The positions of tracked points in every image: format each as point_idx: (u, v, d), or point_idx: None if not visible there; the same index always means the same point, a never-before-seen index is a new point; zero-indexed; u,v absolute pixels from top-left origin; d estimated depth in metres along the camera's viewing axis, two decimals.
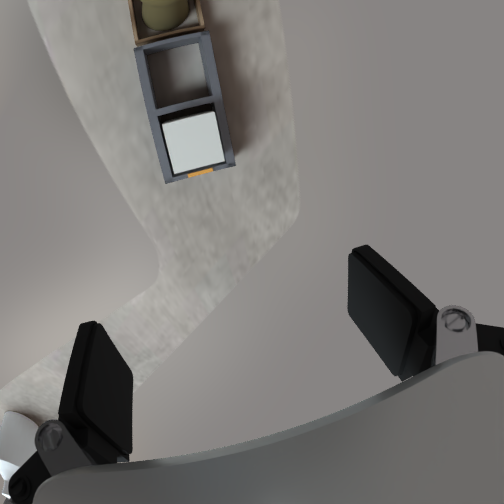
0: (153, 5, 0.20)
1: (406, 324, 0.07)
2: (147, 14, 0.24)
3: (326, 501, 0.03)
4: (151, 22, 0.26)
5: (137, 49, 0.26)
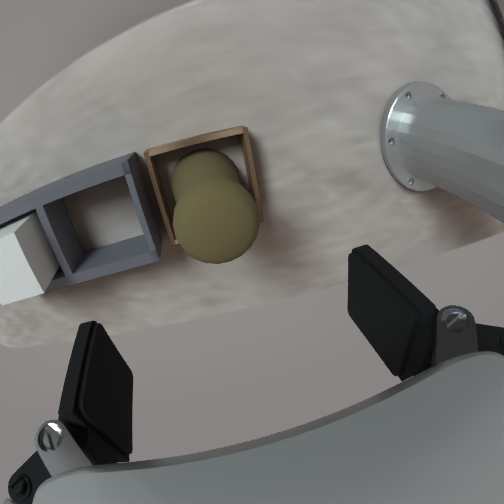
0: None
1: (406, 324, 0.07)
2: (185, 173, 0.21)
3: (326, 501, 0.03)
4: (177, 173, 0.23)
5: (125, 166, 0.20)
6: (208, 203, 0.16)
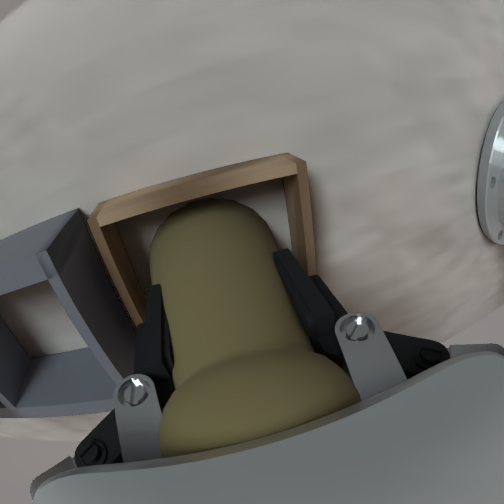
0: None
1: (306, 328, 0.08)
2: (175, 277, 0.09)
3: (326, 501, 0.03)
4: (159, 261, 0.11)
5: (44, 263, 0.08)
6: None
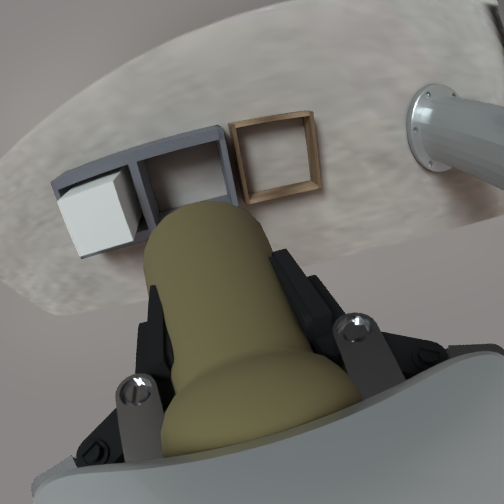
0: None
1: (304, 329, 0.08)
2: (170, 281, 0.09)
3: (326, 501, 0.03)
4: (154, 265, 0.11)
5: (220, 132, 0.25)
6: None
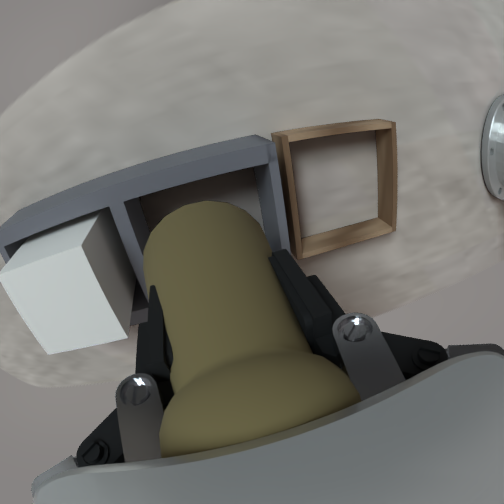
0: None
1: (304, 329, 0.08)
2: (169, 281, 0.09)
3: (326, 501, 0.03)
4: (153, 265, 0.11)
5: (270, 151, 0.15)
6: None
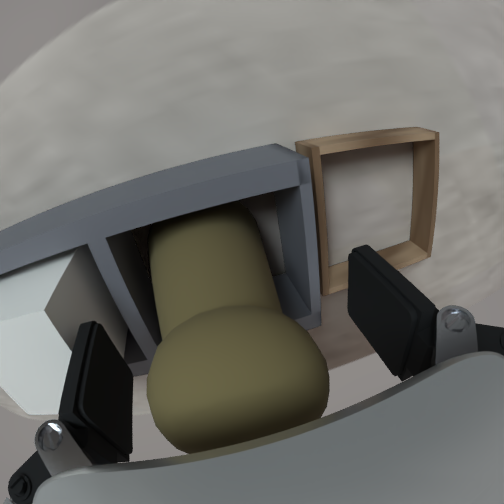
0: None
1: (406, 324, 0.07)
2: (164, 259, 0.11)
3: (326, 501, 0.03)
4: (153, 249, 0.13)
5: (302, 169, 0.11)
6: (221, 407, 0.06)
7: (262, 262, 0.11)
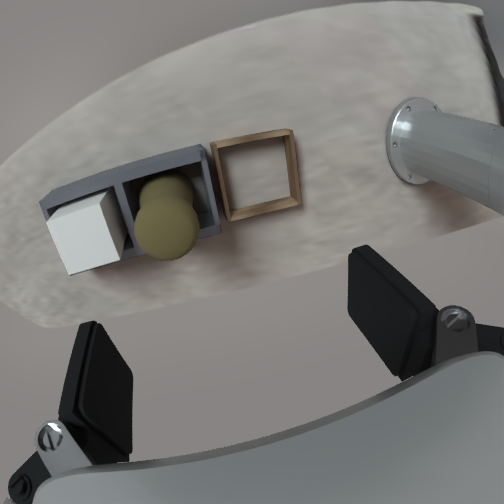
0: (134, 225, 0.22)
1: (406, 324, 0.07)
2: (145, 192, 0.26)
3: (326, 501, 0.03)
4: (141, 191, 0.28)
5: (202, 154, 0.26)
6: (155, 215, 0.21)
7: (185, 192, 0.27)
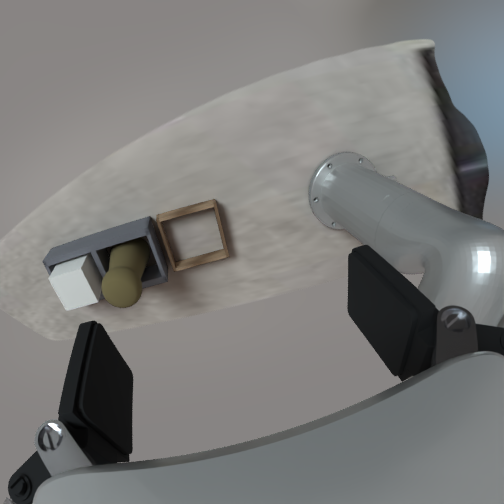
0: (101, 286, 0.33)
1: (406, 324, 0.07)
2: (111, 256, 0.38)
3: (326, 501, 0.03)
4: None
5: (146, 230, 0.37)
6: (111, 283, 0.32)
7: (137, 257, 0.38)
